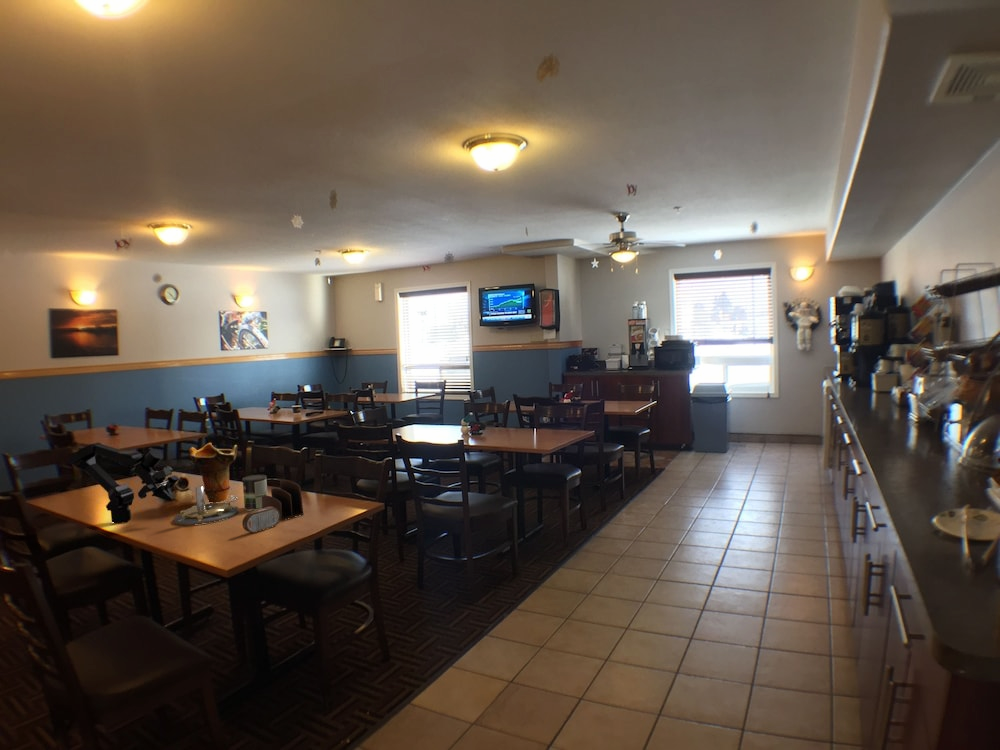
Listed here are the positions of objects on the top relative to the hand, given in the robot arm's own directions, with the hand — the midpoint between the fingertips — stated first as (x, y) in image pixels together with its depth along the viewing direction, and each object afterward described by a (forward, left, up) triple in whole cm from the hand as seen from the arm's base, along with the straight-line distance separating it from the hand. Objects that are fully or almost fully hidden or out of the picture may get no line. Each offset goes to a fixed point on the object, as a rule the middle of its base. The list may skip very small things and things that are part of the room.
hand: (172, 500), depth 254 cm
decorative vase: (+15, +29, -10) cm, 34 cm away
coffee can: (+33, +5, -10) cm, 34 cm away
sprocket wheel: (+13, +1, -7) cm, 15 cm away
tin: (+36, -32, -10) cm, 49 cm away
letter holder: (+43, -13, -10) cm, 46 cm away
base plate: (+13, +1, -9) cm, 16 cm away
